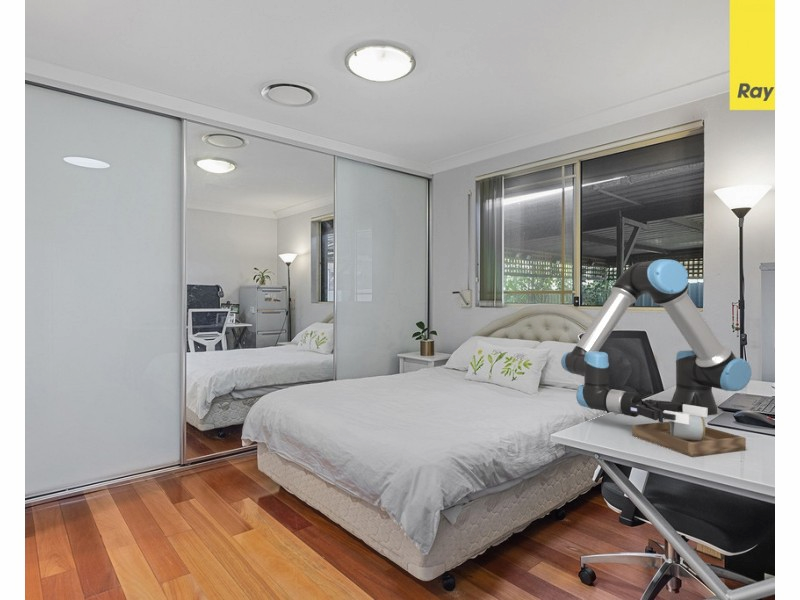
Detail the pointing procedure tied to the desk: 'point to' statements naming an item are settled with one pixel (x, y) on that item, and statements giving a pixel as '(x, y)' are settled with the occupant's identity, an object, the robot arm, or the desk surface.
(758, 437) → the desk surface
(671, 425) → the ceramic mug
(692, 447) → the walnut tray
